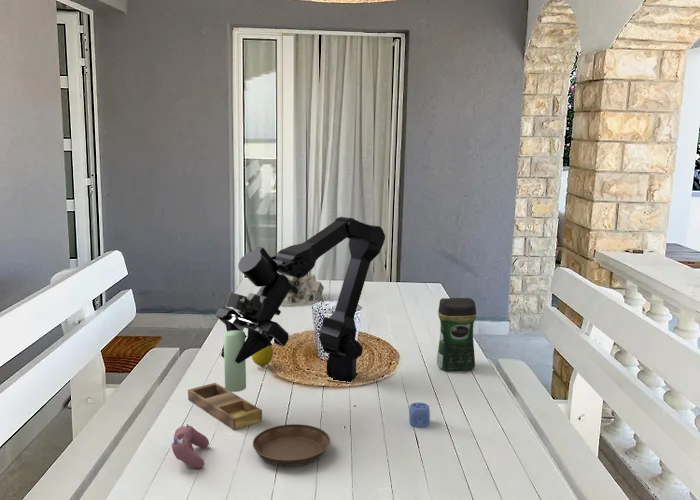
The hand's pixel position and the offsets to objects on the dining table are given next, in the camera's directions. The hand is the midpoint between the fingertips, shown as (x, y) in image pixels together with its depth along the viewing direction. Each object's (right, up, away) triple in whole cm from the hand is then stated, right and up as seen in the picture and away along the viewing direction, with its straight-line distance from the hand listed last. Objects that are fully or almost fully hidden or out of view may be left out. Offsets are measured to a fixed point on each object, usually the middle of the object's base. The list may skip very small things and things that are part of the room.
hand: (229, 359), depth 143 cm
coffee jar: (+52, -8, +35) cm, 63 cm away
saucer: (+14, -16, -11) cm, 24 cm away
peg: (+1, -6, +2) cm, 7 cm away
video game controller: (-5, -17, -14) cm, 22 cm away
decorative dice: (+40, -14, +2) cm, 42 cm away
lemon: (+2, -8, +34) cm, 35 cm away
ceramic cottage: (+7, +4, +99) cm, 99 cm away
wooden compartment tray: (-3, -12, +8) cm, 15 cm away
